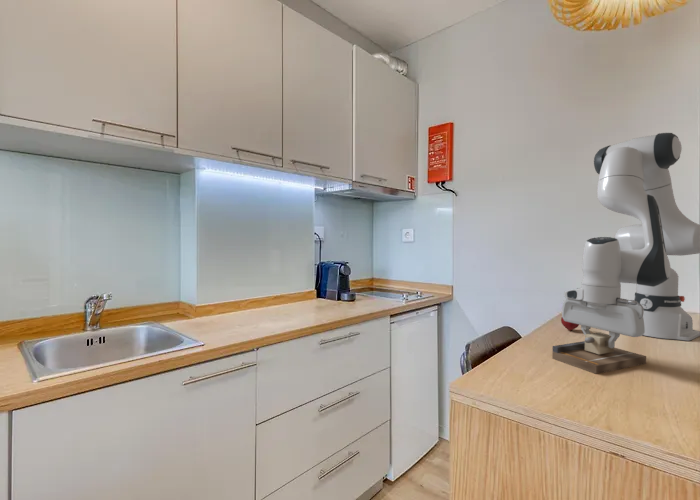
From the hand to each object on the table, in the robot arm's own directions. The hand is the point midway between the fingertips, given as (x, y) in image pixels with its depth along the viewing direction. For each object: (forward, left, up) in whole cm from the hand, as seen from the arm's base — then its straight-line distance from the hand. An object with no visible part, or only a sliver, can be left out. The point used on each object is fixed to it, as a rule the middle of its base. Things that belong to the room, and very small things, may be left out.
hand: (599, 344), depth 96 cm
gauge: (0, 0, -2) cm, 2 cm away
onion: (-21, -24, -4) cm, 32 cm away
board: (+2, +1, -4) cm, 5 cm away
